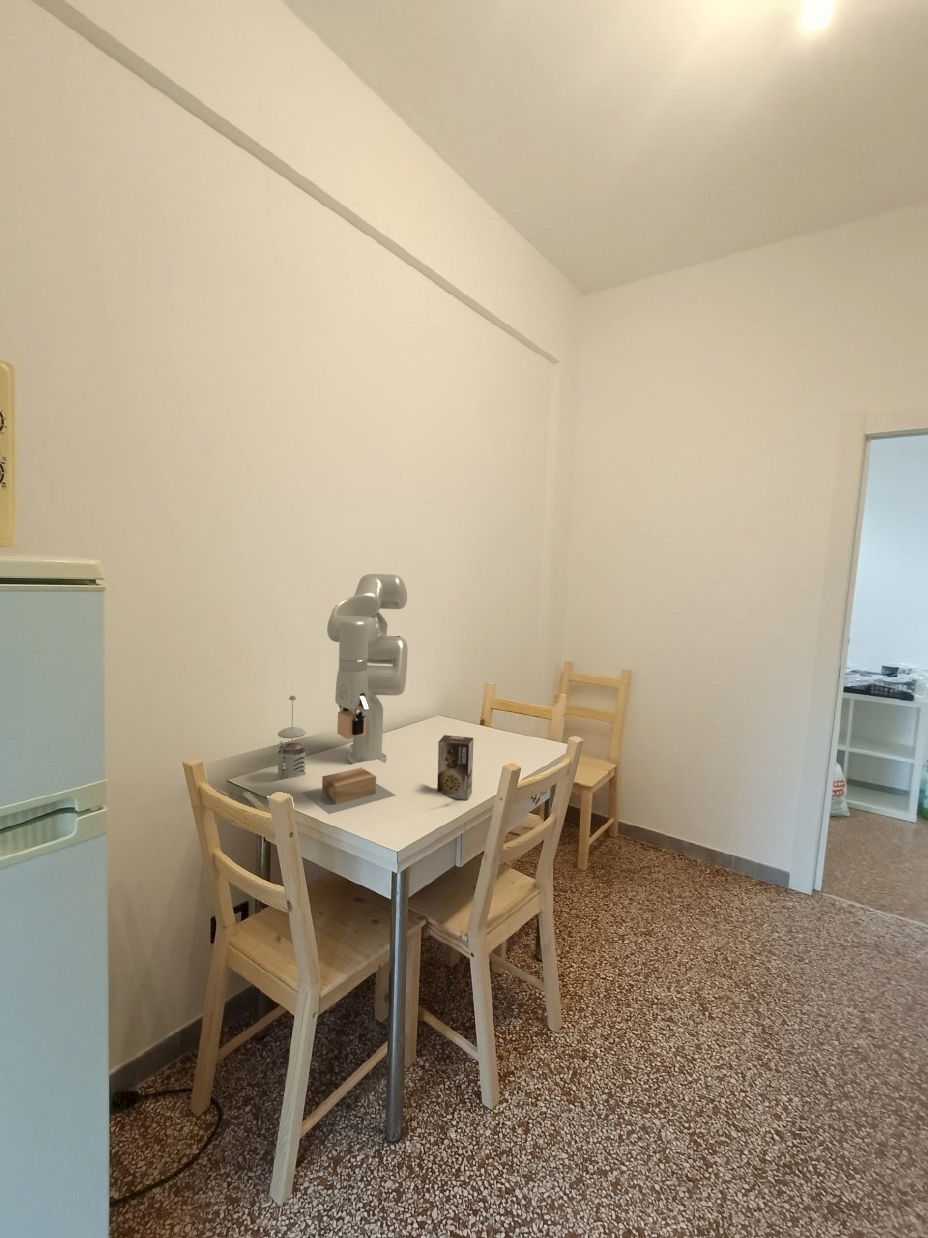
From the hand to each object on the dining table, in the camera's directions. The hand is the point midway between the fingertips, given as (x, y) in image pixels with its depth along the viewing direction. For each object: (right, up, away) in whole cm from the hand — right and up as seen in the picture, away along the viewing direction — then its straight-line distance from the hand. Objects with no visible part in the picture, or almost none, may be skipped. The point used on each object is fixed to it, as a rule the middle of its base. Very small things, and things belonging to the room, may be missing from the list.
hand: (351, 730), depth 147 cm
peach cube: (0, -1, 0) cm, 1 cm away
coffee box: (+28, -20, +8) cm, 35 cm away
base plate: (-1, -19, +2) cm, 19 cm away
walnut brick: (-1, -18, +1) cm, 18 cm away
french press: (-21, -17, +14) cm, 31 cm away
